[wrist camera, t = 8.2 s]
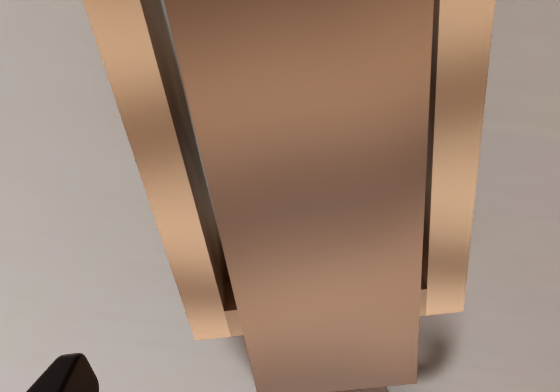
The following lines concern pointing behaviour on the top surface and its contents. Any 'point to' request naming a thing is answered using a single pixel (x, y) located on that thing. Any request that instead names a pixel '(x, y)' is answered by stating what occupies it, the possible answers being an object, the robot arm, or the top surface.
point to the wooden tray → (190, 172)
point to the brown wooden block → (315, 178)
